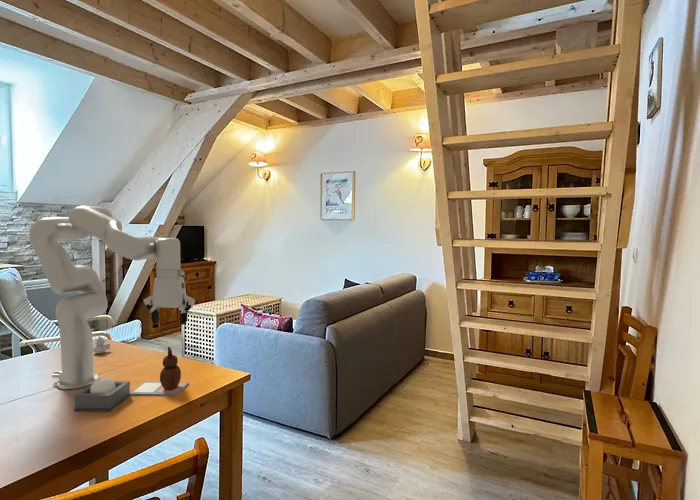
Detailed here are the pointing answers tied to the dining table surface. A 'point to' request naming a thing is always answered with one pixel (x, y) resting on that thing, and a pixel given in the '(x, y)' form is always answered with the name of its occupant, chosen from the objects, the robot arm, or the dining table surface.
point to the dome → (103, 385)
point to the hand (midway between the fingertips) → (169, 323)
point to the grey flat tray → (158, 389)
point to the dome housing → (102, 398)
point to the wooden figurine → (170, 371)
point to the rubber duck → (101, 346)
